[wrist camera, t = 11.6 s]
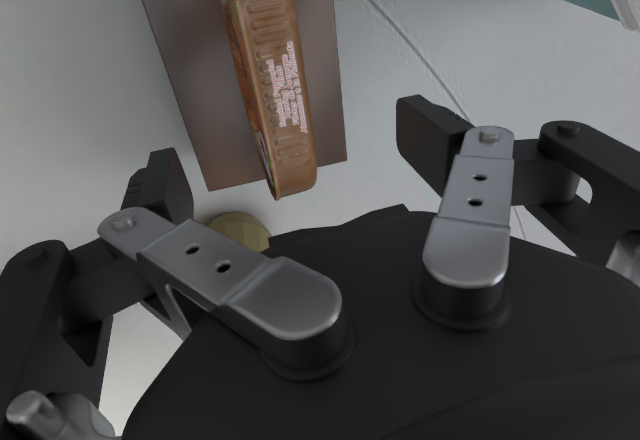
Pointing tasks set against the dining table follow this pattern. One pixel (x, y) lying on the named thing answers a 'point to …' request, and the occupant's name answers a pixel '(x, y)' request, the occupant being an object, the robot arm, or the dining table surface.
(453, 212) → the robot arm
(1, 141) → the dining table surface
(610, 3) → the disposable coffee cup
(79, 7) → the dining table surface
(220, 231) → the squeeze bottle
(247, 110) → the tin
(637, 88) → the dining table surface
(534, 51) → the dining table surface
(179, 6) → the stand
